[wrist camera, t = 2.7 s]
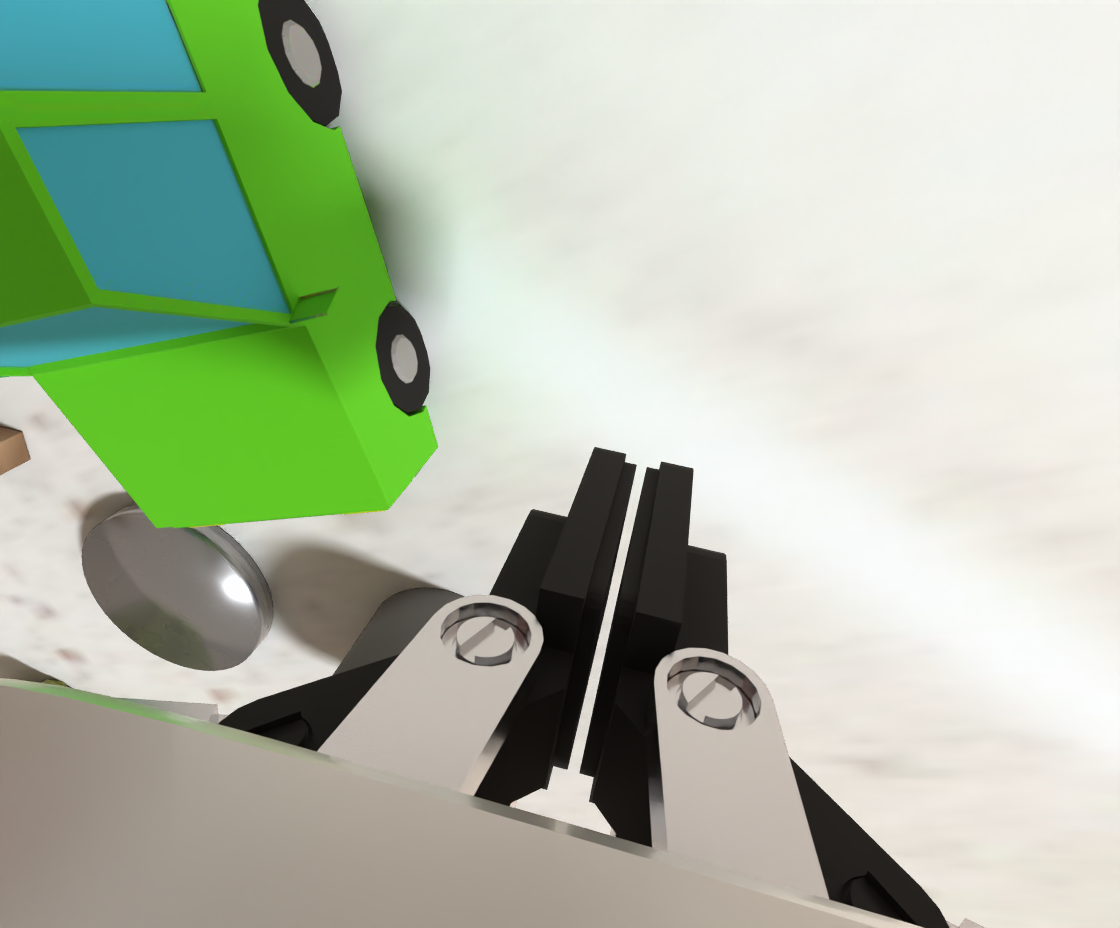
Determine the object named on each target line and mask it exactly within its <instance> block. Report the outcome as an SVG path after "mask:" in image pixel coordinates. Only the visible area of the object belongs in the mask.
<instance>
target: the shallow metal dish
mask: <svg viewBox="0 0 1120 928" xmlns="http://www.w3.org/2000/svg"><path fill="white" fill-rule="evenodd" d="M82 566H83V571H84V575H85V578H86V581H87V584H88V586H89V588H90V590H91V592H92V594H93V596H94V598H95V599H96V601H97V603H98V604H99V606H100V607H101V608H102V610H103V611H104V612H105V614H106V615H107V616H108V617H109V618H110V619H111V621H112V622H113V623H114V624H115V625H116V626H117V627H118V628H119V629H120V630H121V631H122V632H124V633H125V634H126V635H127V636H128V637H129V638H131V639H132V640H133V641H135V642H136V643H137V644H139V645H140V646H142V647H143V648H145V649H146V650H148V651H150V652H151V653H153V654H155V655H157V656H159V657H161V658H163V659H165V660H167V661H170V662H172V663H174V664H177V665H180V666H184V667H187V668H192V669H197V670H205V671H217V670H225V669H228V668H232V667H234V666H237V665H239V664H240V663H242V662H243V661H245V660H246V659H247V658H248V657H249V656H250V655H251V653H252V652H253V651H254V650H255V649H256V648H257V646H258V645H259V644H260V643H261V642H262V641H263V639H264V638H265V637H266V636H267V634H268V632H269V630H270V628H271V625H272V620H273V603H272V597H271V594H270V591H269V588H268V585H267V583H266V581H265V579H264V576H263V575H262V573H261V571H260V570H259V568H258V566H257V565H256V564H255V562H254V561H253V560H252V558H251V557H250V556H249V554H248V553H247V552H246V551H245V550H244V549H243V548H242V547H241V546H240V545H239V544H238V543H237V542H236V541H235V540H234V539H233V538H232V537H231V536H230V535H228V534H227V533H226V532H224V531H223V530H222V529H221V528H219V527H218V526H205V527H193V528H189V527H185V528H173V527H165V528H156V527H155V526H154V524H153V523H152V522H151V521H150V520H149V518H148V517H147V516H146V515H145V513H144V512H143V511H142V510H141V509H140V507H139V506H138V505H137V504H133V505H129V506H127V507H125V508H122V509H121V510H119V511H118V512H116V513H115V514H113V515H112V516H110V517H109V518H107V519H106V520H105V521H103V522H102V523H100V524H99V525H97V526H96V527H94V529H93V530H92V531H91V532H90V533H89V534H88V536H87V538H86V540H85V542H84V546H83V550H82Z"/></svg>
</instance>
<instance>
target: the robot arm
mask: <svg viewBox="0 0 1120 928" xmlns="http://www.w3.org/2000/svg"><path fill="white" fill-rule="evenodd" d="M625 458H626V454H624V453H620V452H615V451H611V450H606V449H601V448H597V447H595V448H594V450H593V452H592V455H591V457H590V460H589V463H588V465H587V468H586V470H585V473H584V476H583V478H582V481H581V483H580V486H579V488H578V491H577V494H576V496H575V499H574V501H573V504H572V507H571V509H570V512H569V514H568V517H565V516H560V515H556V514H552V513H547V512H543V511H539V510H535V509H533V510H531V512H530V513H529V515H528V517H527V519H526V521H525V523H524V525H523V527H522V529H521V531H520V533H519V535H518V537H517V539H516V541H515V543H514V545H513V548H512V550H511V552H510V554H509V556H508V558H507V560H506V562H505V564H504V566H503V568H502V570H501V572H500V574H499V576H498V578H497V580H496V582H495V584H494V586H493V588H492V590H491V592H490V594H489V595H473V596H468V597H462V598H459V599H457V600H454V601H452V602H450V603H447V604H446V605H444V606H443V607H442V608H441V609H440V610H438V611H437V612H436V613H435V614H434V615H433V616H432V618H431V619H430V620H429V621H428V622H427V623H426V625H425V626H424V627H423V628H422V629H421V630H420V632H419V633H418V634H417V635H416V636H415V637H414V639H413V640H412V641H411V642H410V643H409V644H408V646H407V647H406V648H405V649H404V650H403V651H402V653H401V654H398V655H395V656H392V657H389V658H386V659H383V660H379V661H376V662H373V663H370V664H367V665H364V666H361V667H358V668H355V669H351V670H348V671H345V672H342V673H339V674H336V675H333V676H330V677H327V678H324V679H320V680H317V681H314V682H311V683H308V684H305V685H302V686H299V687H296V688H292V689H289V690H286V691H283V692H280V693H277V694H274V695H271V696H268V697H264V698H261V699H258V700H256V701H254V702H251V703H249V704H247V705H245V706H242V707H240V708H238V709H237V710H235V711H234V712H232V713H231V714H230V715H220V714H218V708H217V705H216V704H201V703H187V702H172V701H157V700H142V699H127V698H114V697H110V696H105V695H101V694H96V693H91V692H87V691H82V690H78V689H73V688H69V687H64V686H58V685H51V684H44V683H37V682H30V681H23V680H16V679H4V678H0V928H985V927H983V926H980V925H978V924H976V923H974V922H972V921H970V920H968V919H966V918H965V919H964V920H963V922H962V923H961V924H960V926H959V927H958V926H956V925H954V924H952V923H950V922H948V921H946V920H945V918H944V916H943V915H942V913H941V911H940V909H939V908H938V907H937V905H936V904H935V903H934V902H933V901H932V899H931V898H930V897H929V896H928V895H927V893H926V892H925V891H924V890H923V889H922V888H921V886H920V885H919V884H918V883H917V882H916V881H915V880H914V879H913V878H912V877H911V876H910V875H909V874H907V873H906V872H905V871H904V870H903V869H902V868H901V867H900V866H899V865H898V864H897V863H896V862H895V861H894V860H893V859H892V858H891V857H890V856H889V855H888V854H887V853H886V852H885V851H884V850H883V849H882V848H881V847H880V846H879V845H878V844H877V843H876V842H875V841H874V840H873V839H872V838H871V837H870V836H869V835H868V834H867V833H866V832H865V831H864V830H863V829H862V828H861V827H860V826H859V825H858V824H857V823H856V822H855V821H854V820H853V819H852V818H851V817H850V816H849V815H848V814H847V813H846V812H845V811H844V810H843V809H842V808H841V807H840V806H839V805H838V804H837V803H836V802H835V801H834V800H833V799H832V798H831V797H830V796H829V795H828V794H826V793H825V792H824V791H823V790H822V789H821V788H820V787H819V786H818V785H817V784H816V783H815V782H814V781H813V780H812V779H811V778H810V777H809V776H808V775H807V774H806V773H805V772H804V771H803V770H802V769H801V768H800V767H799V766H798V765H797V764H796V763H795V762H794V761H793V760H792V759H791V758H790V757H789V755H788V751H787V747H786V744H785V740H784V737H783V733H782V730H781V726H780V723H779V719H778V716H777V712H776V709H775V705H774V701H773V699H772V697H771V694H770V692H769V690H768V688H767V686H766V684H765V683H764V682H763V681H762V680H761V679H760V677H759V676H758V675H757V674H756V673H755V672H754V671H753V670H751V669H750V668H749V667H747V666H746V665H745V664H743V663H742V662H741V661H739V660H737V659H735V658H733V657H731V656H729V655H728V616H727V560H726V555H725V554H724V553H720V552H715V551H711V550H707V549H702V548H698V547H694V546H689V545H688V537H689V524H690V510H691V497H692V483H693V468H688V467H684V466H679V465H675V464H670V463H665V462H661V464H660V468H659V470H658V469H653V468H649V467H647V469H646V473H645V478H644V482H643V486H642V491H641V495H640V500H639V504H638V509H637V513H636V517H635V522H634V526H633V531H632V535H631V539H630V544H629V548H628V553H627V557H626V562H625V566H624V570H623V575H622V579H621V584H620V588H619V593H618V597H617V601H616V606H615V611H614V615H613V620H612V624H611V629H610V634H609V638H608V643H607V648H606V652H605V657H604V662H603V666H602V671H601V675H600V680H599V685H598V689H597V694H596V699H595V703H594V708H593V713H592V717H591V722H590V727H589V731H588V736H587V740H586V745H585V750H584V754H583V759H582V764H581V768H580V773H581V774H584V775H588V776H591V777H594V779H593V784H592V789H591V795H590V800H589V802H592V803H595V805H596V806H597V807H598V809H599V810H600V812H601V813H602V814H603V816H604V817H605V819H606V820H607V822H608V823H609V824H610V826H611V827H612V828H611V831H610V835H607V834H603V833H600V832H596V831H593V830H589V829H586V828H582V827H579V826H576V825H572V824H569V823H565V822H562V821H558V820H555V819H551V818H548V817H544V816H541V815H537V814H534V813H530V812H527V811H524V810H520V809H517V808H515V807H516V803H517V800H518V799H520V798H522V797H524V796H526V795H528V794H530V793H532V792H535V791H537V790H539V789H541V788H542V789H546V790H547V788H548V784H549V780H550V776H551V772H552V769H553V766H556V767H559V768H563V769H566V770H567V769H568V765H569V761H570V757H571V753H572V748H573V744H574V740H575V736H576V731H577V727H578V723H579V719H580V714H581V710H582V706H583V702H584V697H585V693H586V689H587V685H588V680H589V676H590V672H591V668H592V663H593V659H594V655H595V651H596V646H597V642H598V638H599V634H600V629H601V625H602V621H603V617H604V612H605V608H606V604H607V599H608V595H609V590H610V586H611V581H612V576H613V572H614V567H615V563H616V558H617V553H618V549H619V544H620V540H621V535H622V530H623V526H624V521H625V517H626V512H627V507H628V503H629V498H630V494H631V489H632V484H633V480H634V475H635V471H636V466H637V465H635V464H630V463H626V462H625Z"/></svg>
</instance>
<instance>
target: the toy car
mask: <svg viewBox="0 0 1120 928" xmlns="http://www.w3.org/2000/svg"><path fill="white" fill-rule="evenodd" d="M341 93H342V90H341V85H340V80H339V75H338V71H337V68H336V65H335V62H334V58H333V55H332V52H331V49H330V46H329V43H328V40H327V38H326V36H325V33H324V31H323V29H322V26H321V24H320V22H319V20H318V19H317V18H316V16H315V15H314V13H313V12H312V11H311V9H310V8H309V6H308V5H307V4H306V2H305V1H304V0H0V378H1V377H9V376H33V377H34V378H35V380H36V381H37V382H38V383H39V384H40V386H41V387H42V388H43V389H44V391H45V392H46V393H47V394H48V396H49V397H50V398H51V399H52V400H53V402H54V403H55V404H56V405H57V407H58V408H59V409H60V410H61V412H62V413H63V414H64V415H65V416H66V418H67V419H68V420H69V421H70V423H71V424H72V425H73V426H74V427H75V429H76V430H77V431H78V432H79V434H80V435H81V436H82V437H83V439H84V440H85V441H86V442H87V443H88V445H89V446H90V447H91V448H92V450H93V451H94V452H95V453H96V454H97V456H98V457H99V458H100V459H101V461H102V462H103V463H104V464H105V466H106V467H107V468H108V469H109V470H110V472H111V473H112V474H113V475H114V477H115V478H116V479H117V480H118V482H119V483H120V484H121V485H122V486H123V488H124V489H125V490H126V491H127V493H128V494H129V495H130V496H131V497H132V499H133V500H134V501H135V502H136V504H137V505H138V506H139V507H140V509H141V510H142V511H143V512H144V513H145V515H146V516H147V517H148V518H149V520H150V521H151V522H152V523H153V524H154V526H155V527H156V528H165V527H173V528H185V527H189V528H193V527H205V526H216V525H224V524H231V523H242V522H254V521H265V520H277V519H288V518H300V517H311V516H323V515H334V514H355V513H367V512H378V511H385V510H388V509H389V508H390V507H391V506H392V504H393V503H394V502H395V501H396V499H397V498H398V497H399V496H400V495H401V493H402V492H403V491H404V490H405V489H406V487H407V486H408V485H409V484H410V482H411V481H412V479H413V478H414V477H415V476H416V475H417V474H418V472H419V471H420V469H421V468H422V467H423V465H424V464H425V463H426V462H427V460H428V459H429V458H430V456H431V455H432V454H433V453H434V451H435V450H436V449H437V448H438V445H437V441H436V438H435V434H434V431H433V427H432V424H431V420H430V417H429V413H428V410H427V407H426V406H422V405H423V403H424V401H425V399H426V397H427V395H428V393H429V379H430V365H429V360H428V354H427V350H426V347H425V344H424V341H423V338H422V335H421V332H420V330H419V328H418V326H417V323H416V321H415V319H414V318H413V317H412V316H411V315H410V314H409V313H408V312H407V311H405V310H404V309H403V308H402V307H401V306H387V304H388V303H389V302H391V301H396V299H395V295H394V292H393V288H392V285H391V281H390V278H389V275H388V272H387V269H386V266H385V263H384V260H383V256H382V253H381V250H380V247H379V244H378V241H377V238H376V235H375V232H374V229H373V226H372V223H371V220H370V217H369V214H368V211H367V208H366V204H365V201H364V198H363V195H362V192H361V189H360V186H359V183H358V180H357V177H356V174H355V171H354V168H353V165H352V162H351V159H350V156H349V152H348V149H347V146H346V143H345V140H344V137H343V134H342V131H341V128H340V126H339V127H335V128H331V129H329V128H327V127H324V126H326V125H328V124H329V123H330V122H331V121H333V120H334V119H335V118H336V117H338V116H339V109H340V101H341Z"/></svg>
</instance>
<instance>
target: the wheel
mask: <svg viewBox="0 0 1120 928" xmlns="http://www.w3.org/2000/svg"><path fill="white" fill-rule="evenodd" d="M462 597H464V596H462V595H460V594H457V593H453V592H450V591H446V590H441V589H435V588H415V589H409V590H405V591H401V592H399V593H397V594H395V595H393V596H391V597H390V598H388V599H387V600H386V601H385V602H383V603H382V604H381V606H380V607H379V608H378V610H377V611H376V613H375V614H374V616H373V617H372V619H371V620H370V622H369V623H368V624H367V626H366V627H365V629H364V630H363V632H362V633H361V635H360V636H359V638H358V639H357V640H356V642H355V643H354V645H353V646H352V648H351V649H350V651H349V652H348V654H347V655H346V657H345V658H344V659H343V661H342V662H341V664H340V665H339V667H338V668H337V670H336V671H335V673H334V674H333V675H336V674H339V673H342V672H345V671H348V670H351V669H355V668H358V667H361V666H364V665H367V664H370V663H373V662H376V661H379V660H383V659H386V658H389V657H392V656H395V655H398V654H401V653H402V651H403V650H404V649H405V648H406V647H407V646H408V644H409V643H410V642H411V641H412V640H413V639H414V637H415V636H416V635H417V634H418V633H419V632H420V630H421V629H422V628H423V627H424V626H425V625H426V623H427V622H428V621H429V620H430V619H431V618H432V616H433V615H434V614H435V613H436V612H437V611H438V610H440V609H441V608H442V607H443V606H444V605H446V604H447V603H450V602H452V601H454V600H457V599H459V598H462Z"/></svg>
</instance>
